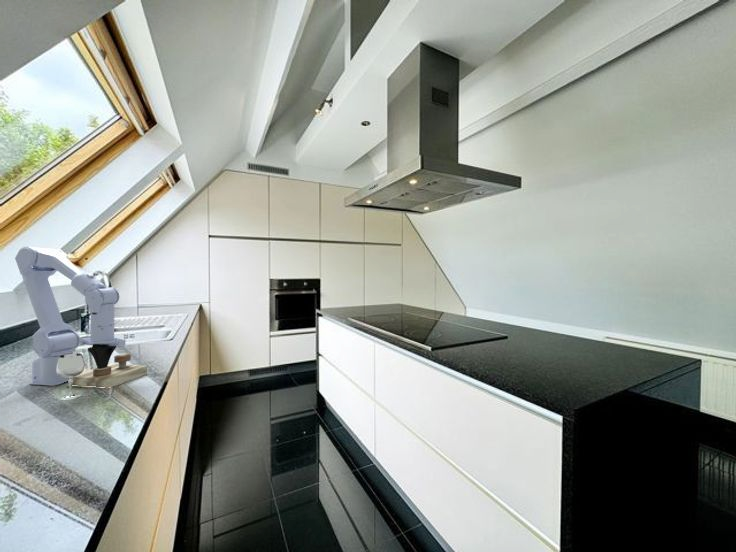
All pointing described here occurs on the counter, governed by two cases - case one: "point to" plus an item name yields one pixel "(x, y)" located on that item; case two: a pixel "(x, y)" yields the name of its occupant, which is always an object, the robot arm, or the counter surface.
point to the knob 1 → (102, 371)
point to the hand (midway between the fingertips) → (102, 367)
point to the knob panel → (110, 376)
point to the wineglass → (70, 368)
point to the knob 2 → (122, 359)
